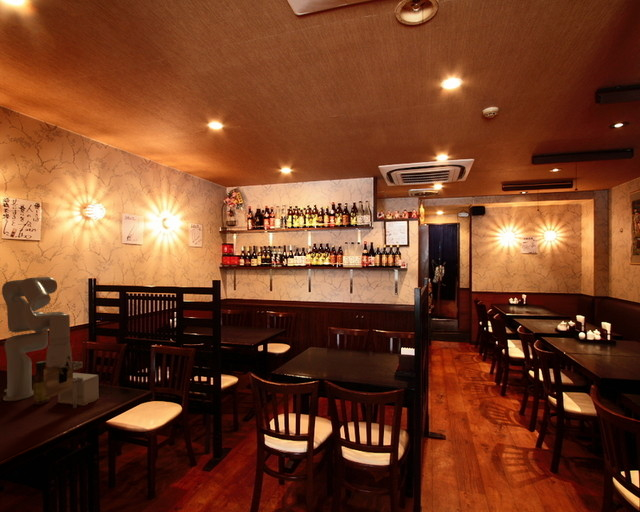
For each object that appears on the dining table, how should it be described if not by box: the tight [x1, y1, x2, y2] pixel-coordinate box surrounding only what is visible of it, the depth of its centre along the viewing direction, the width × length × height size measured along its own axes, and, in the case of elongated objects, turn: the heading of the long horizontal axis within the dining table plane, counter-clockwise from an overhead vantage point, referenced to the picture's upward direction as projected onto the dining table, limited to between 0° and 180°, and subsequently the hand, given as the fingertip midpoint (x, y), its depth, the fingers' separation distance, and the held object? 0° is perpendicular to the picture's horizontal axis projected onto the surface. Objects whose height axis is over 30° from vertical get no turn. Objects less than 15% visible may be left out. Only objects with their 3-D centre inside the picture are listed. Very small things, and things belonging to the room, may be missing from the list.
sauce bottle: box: [32, 360, 51, 405], centre depth 172 cm, size 7×6×20 cm
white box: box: [57, 372, 100, 409], centre depth 172 cm, size 16×12×14 cm
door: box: [44, 361, 84, 398], centre depth 160 cm, size 4×15×12 cm, turn 165°
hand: (59, 381), depth 158 cm, fingers closed on door, 3 cm apart
